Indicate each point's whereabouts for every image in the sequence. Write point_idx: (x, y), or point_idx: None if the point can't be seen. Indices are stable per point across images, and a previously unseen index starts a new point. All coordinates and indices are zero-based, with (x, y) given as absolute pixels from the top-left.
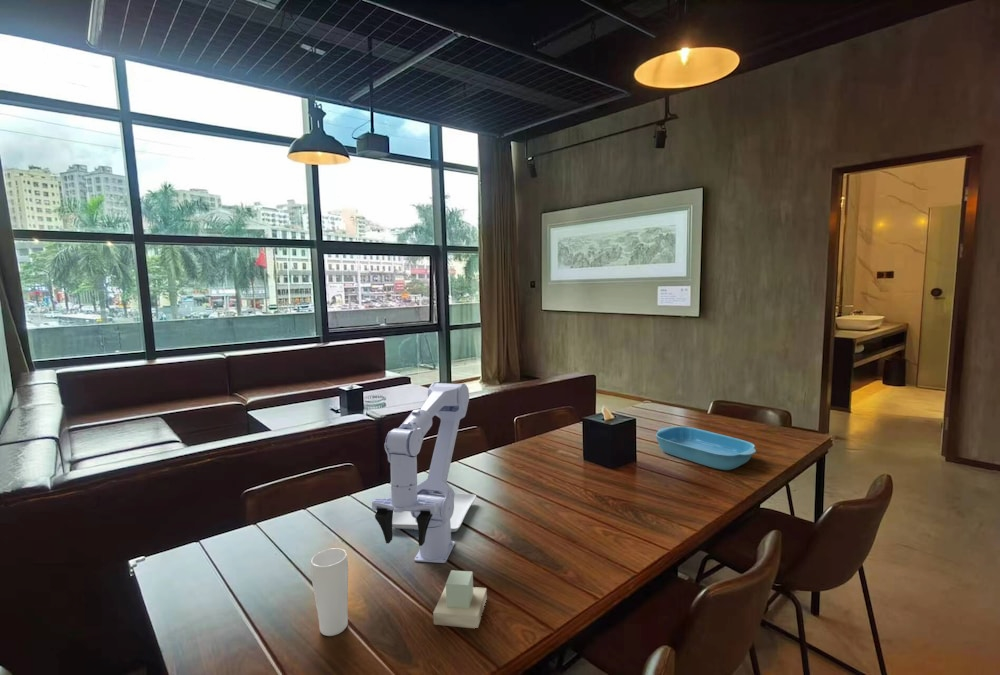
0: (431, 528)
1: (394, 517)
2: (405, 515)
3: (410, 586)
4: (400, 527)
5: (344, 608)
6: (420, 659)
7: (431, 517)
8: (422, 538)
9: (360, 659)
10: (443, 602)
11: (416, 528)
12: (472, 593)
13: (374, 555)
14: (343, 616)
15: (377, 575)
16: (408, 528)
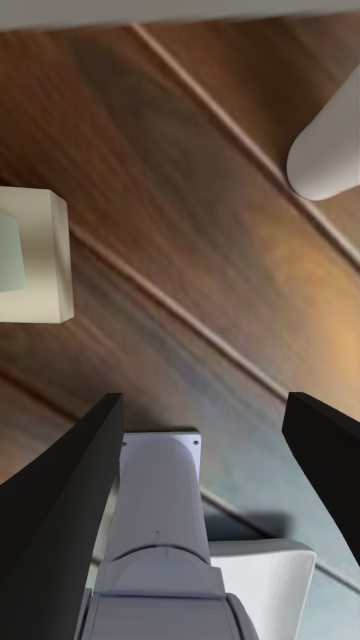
0: (144, 541)
1: (299, 574)
2: (275, 584)
3: (177, 340)
4: (272, 541)
5: (327, 111)
6: (50, 56)
7: (142, 612)
8: (80, 421)
9: (210, 47)
10: (35, 240)
11: (232, 544)
12: None
13: None
14: (313, 124)
15: (271, 371)
16: (252, 541)
